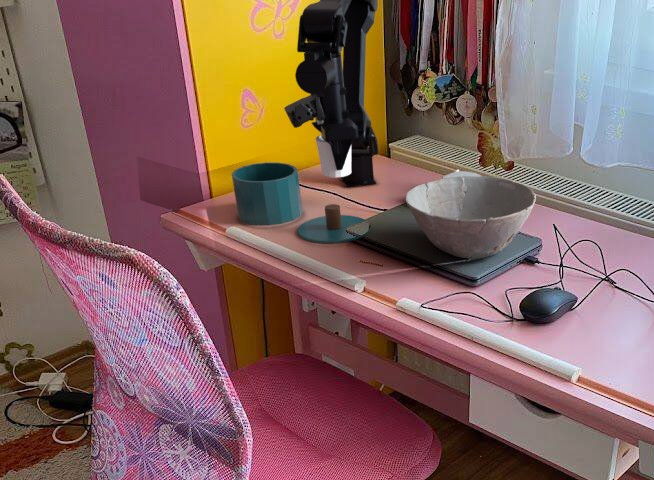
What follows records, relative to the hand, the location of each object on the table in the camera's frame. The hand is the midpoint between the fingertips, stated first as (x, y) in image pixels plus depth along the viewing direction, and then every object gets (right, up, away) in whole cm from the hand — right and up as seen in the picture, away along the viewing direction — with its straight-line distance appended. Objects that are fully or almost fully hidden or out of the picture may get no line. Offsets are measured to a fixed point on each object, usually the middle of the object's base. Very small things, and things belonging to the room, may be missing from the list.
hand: (336, 165), depth 168 cm
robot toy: (+23, -6, +6) cm, 24 cm away
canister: (-13, -10, 0) cm, 16 cm away
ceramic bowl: (+26, -20, -15) cm, 36 cm away
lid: (+1, -14, -8) cm, 17 cm away
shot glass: (0, -2, +1) cm, 2 cm away
